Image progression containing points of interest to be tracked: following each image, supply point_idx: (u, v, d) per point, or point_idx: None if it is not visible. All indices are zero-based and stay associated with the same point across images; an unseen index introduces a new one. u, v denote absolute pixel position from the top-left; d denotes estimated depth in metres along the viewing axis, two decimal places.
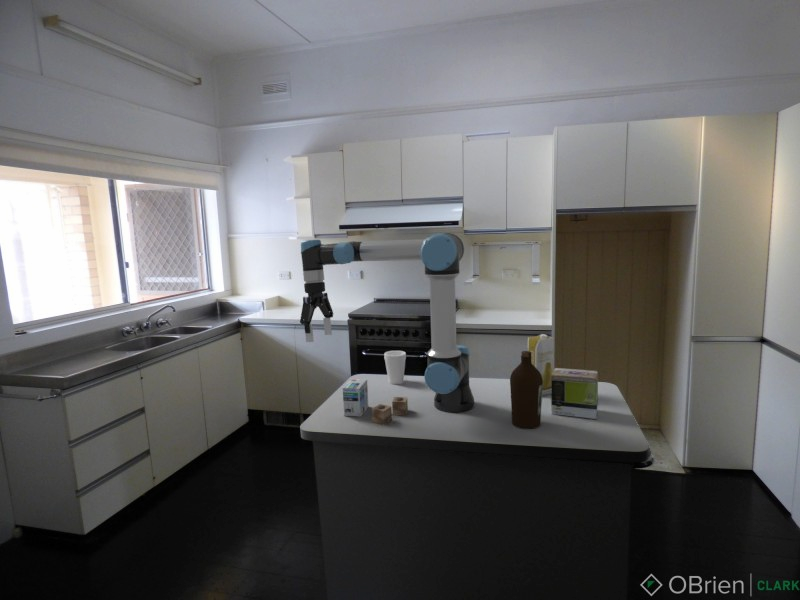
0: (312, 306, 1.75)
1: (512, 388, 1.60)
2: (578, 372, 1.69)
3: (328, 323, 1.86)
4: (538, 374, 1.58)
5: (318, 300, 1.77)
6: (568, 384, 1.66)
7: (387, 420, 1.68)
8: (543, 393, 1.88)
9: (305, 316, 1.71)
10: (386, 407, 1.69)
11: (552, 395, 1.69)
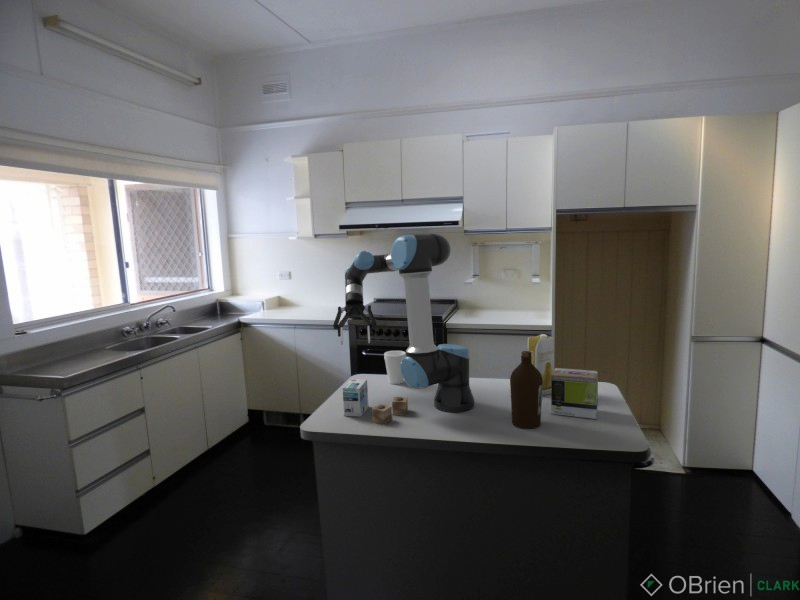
0: None
1: (512, 388, 1.60)
2: (578, 372, 1.69)
3: None
4: (538, 374, 1.58)
5: (350, 307, 1.98)
6: (568, 384, 1.66)
7: (387, 420, 1.68)
8: (543, 393, 1.88)
9: None
10: (386, 407, 1.69)
11: (552, 395, 1.69)
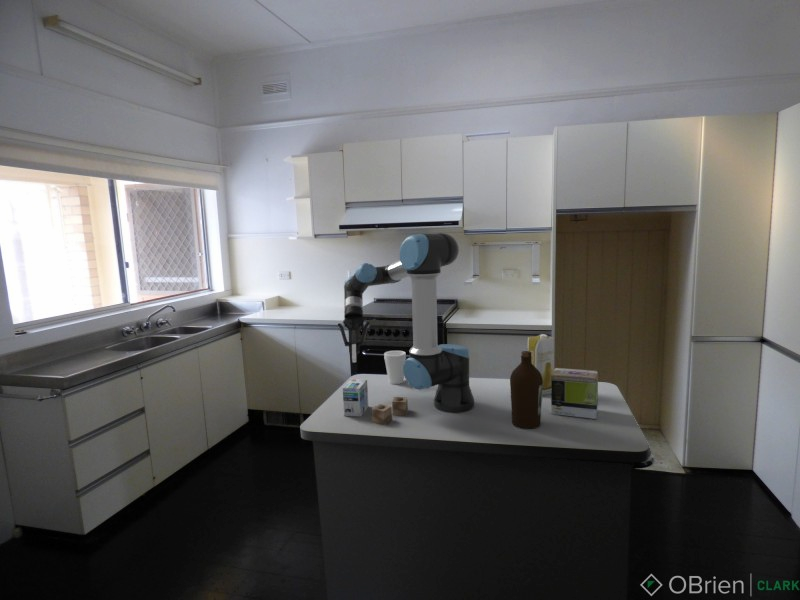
0: (349, 329, 1.90)
1: (512, 388, 1.60)
2: (578, 372, 1.69)
3: None
4: (538, 374, 1.58)
5: (350, 321, 1.91)
6: (568, 384, 1.66)
7: (387, 420, 1.68)
8: (543, 393, 1.88)
9: (343, 339, 1.88)
10: (386, 407, 1.69)
11: (552, 395, 1.69)
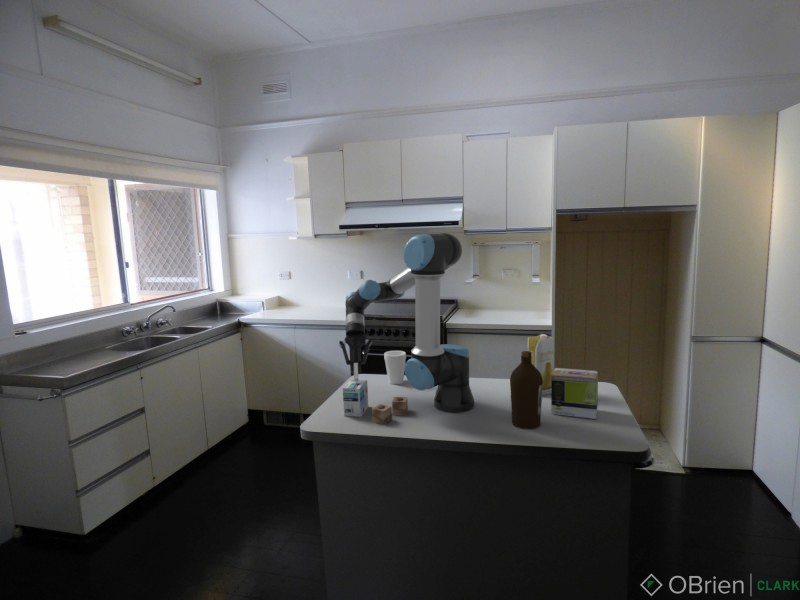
0: (350, 347, 1.86)
1: (512, 388, 1.60)
2: (578, 372, 1.69)
3: None
4: (538, 374, 1.58)
5: (352, 339, 1.87)
6: (568, 384, 1.66)
7: (387, 420, 1.68)
8: (543, 393, 1.88)
9: None
10: (386, 407, 1.69)
11: (552, 395, 1.69)
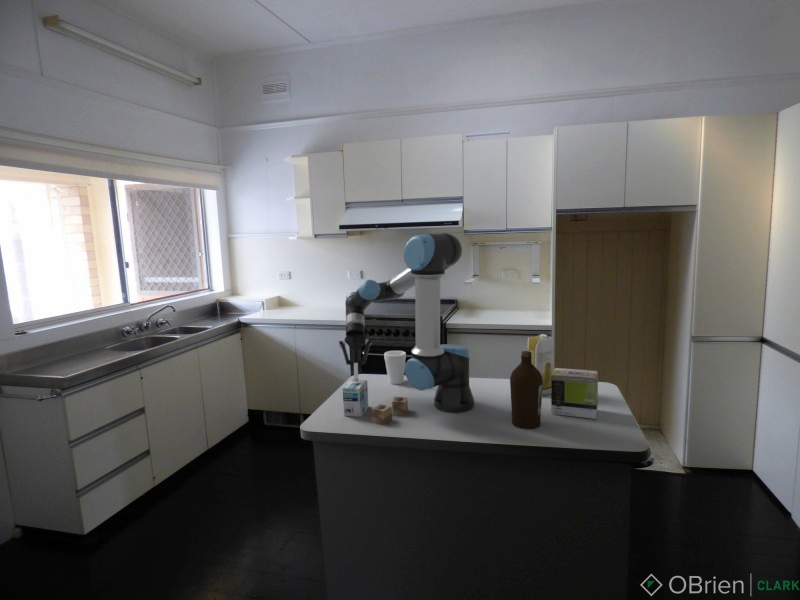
0: None
1: (512, 388, 1.60)
2: (578, 372, 1.69)
3: None
4: (538, 374, 1.58)
5: (352, 339, 1.87)
6: (568, 384, 1.66)
7: (387, 420, 1.68)
8: (543, 393, 1.88)
9: None
10: (386, 407, 1.69)
11: (552, 395, 1.69)
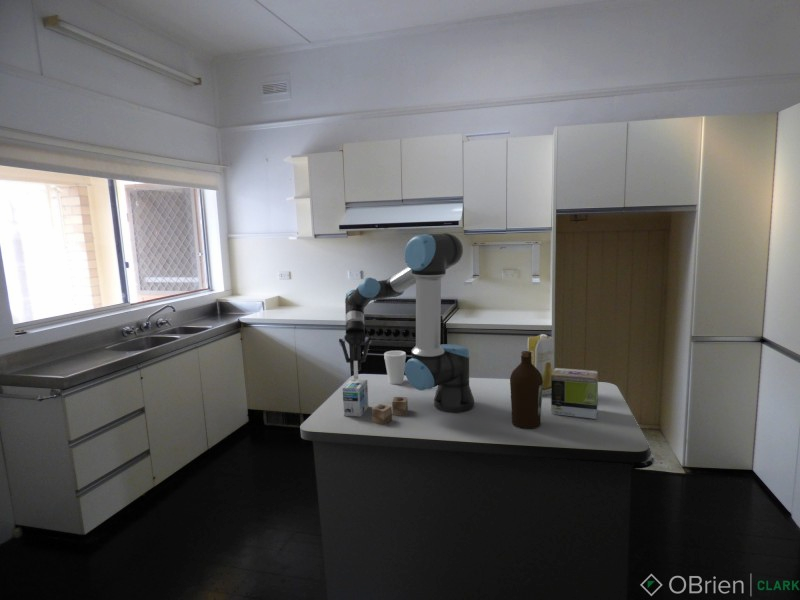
0: None
1: (512, 388, 1.60)
2: (578, 372, 1.69)
3: None
4: (538, 374, 1.58)
5: (352, 337, 1.87)
6: (568, 384, 1.66)
7: (387, 420, 1.68)
8: (543, 393, 1.88)
9: (344, 355, 1.83)
10: (386, 407, 1.69)
11: (552, 395, 1.69)
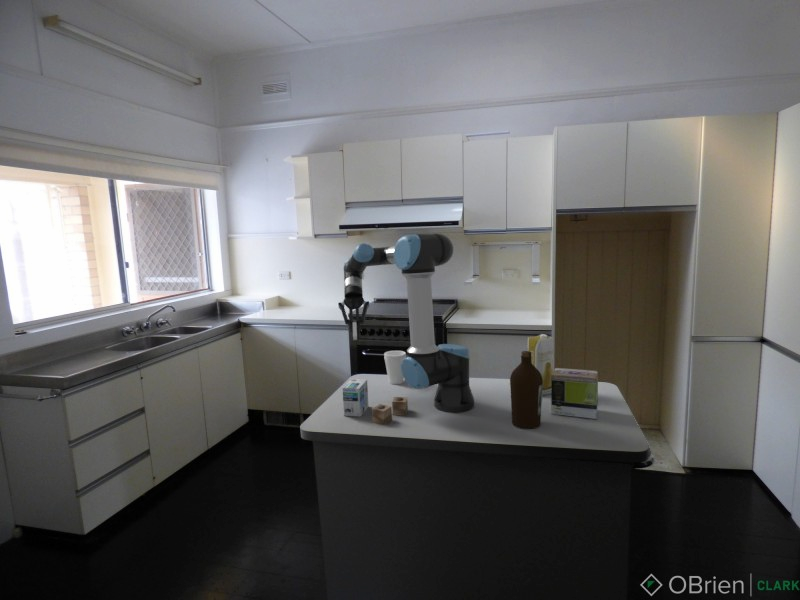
0: (349, 308, 1.95)
1: (512, 388, 1.60)
2: (578, 372, 1.69)
3: None
4: (538, 374, 1.58)
5: (350, 300, 1.96)
6: (568, 384, 1.66)
7: (387, 420, 1.68)
8: (543, 393, 1.88)
9: (344, 317, 1.92)
10: (386, 407, 1.69)
11: (552, 395, 1.69)
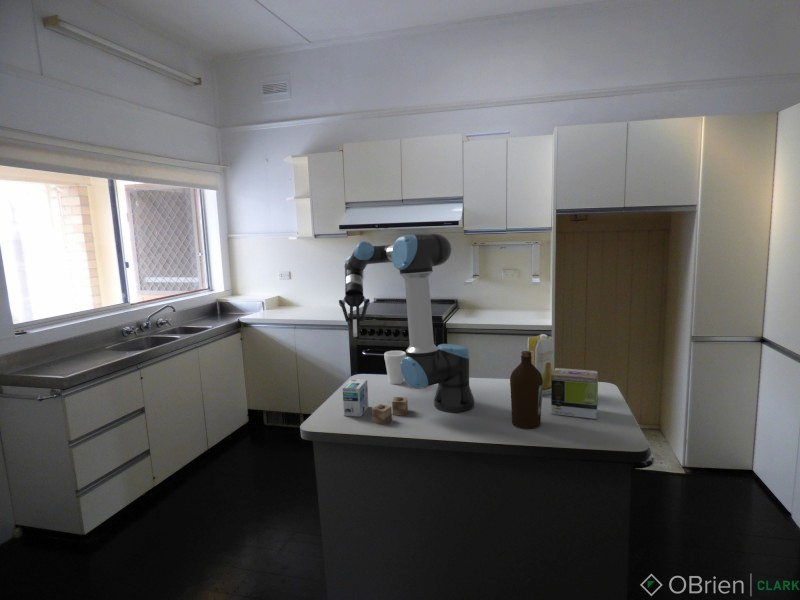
0: None
1: (512, 388, 1.60)
2: (578, 372, 1.69)
3: None
4: (538, 374, 1.58)
5: (351, 298, 1.98)
6: (568, 384, 1.66)
7: (387, 420, 1.68)
8: (543, 393, 1.88)
9: (344, 314, 1.94)
10: (386, 407, 1.69)
11: (552, 395, 1.69)
